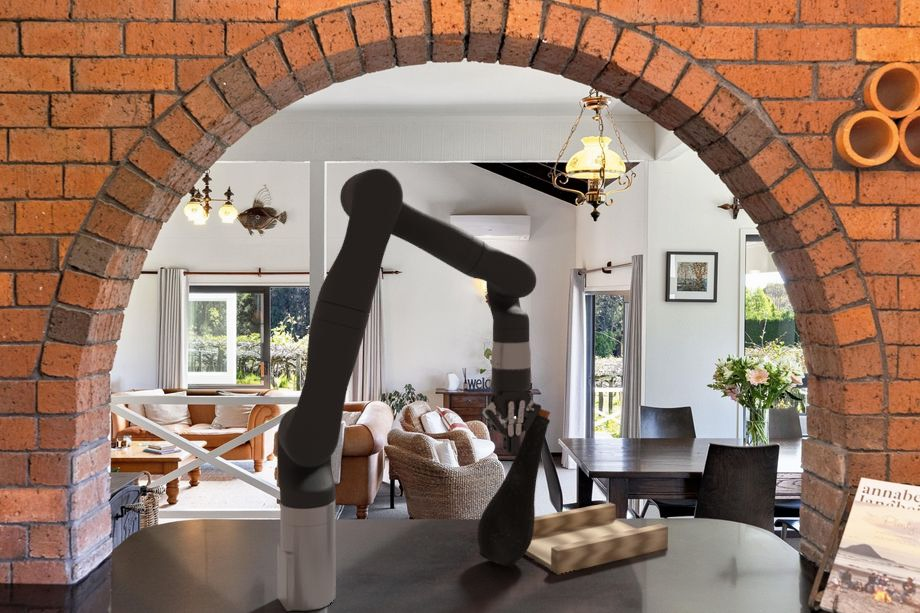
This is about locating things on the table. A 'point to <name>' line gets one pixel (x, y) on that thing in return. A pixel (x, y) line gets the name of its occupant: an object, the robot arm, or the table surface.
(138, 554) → the table surface
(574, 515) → the trough
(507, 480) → the bottle
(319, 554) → the robot arm
